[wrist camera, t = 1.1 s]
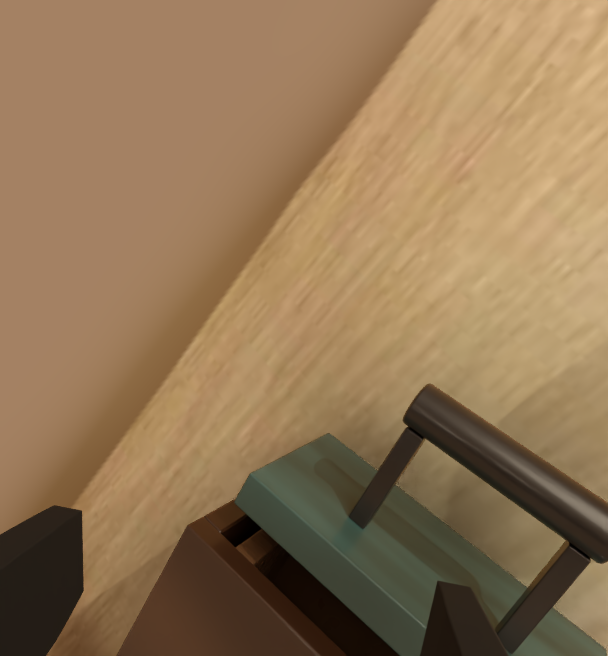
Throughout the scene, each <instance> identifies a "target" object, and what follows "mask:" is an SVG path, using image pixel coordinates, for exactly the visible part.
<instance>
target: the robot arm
mask: <svg viewBox="0 0 608 656" xmlns="http://www.w3.org/2000/svg"><path fill="white" fill-rule="evenodd" d="M83 591H84V588H83V540H82V511H81V510H76V509H71V508H65V507H60V506H52V507H50V508H48V509H46V510H44V511H42V512H40V513H38V514H37V515H35V516H33V517H31V518H29V519H27V520H26V521H24V522H22V523H20V524H18V525H17V526H15V527H13V528H11V529H9V530H8V531H6V532H4V533H3V534H1V535H0V656H46V655H47V653H48V652H49V650H50V649H51V647H52V646H53V644H54V643H55V642H56V640H57V638H58V636H59V635H60V633H61V631H62V629H63V628H64V626H65V624H66V622H67V621H68V619H69V617H70V615H71V613H72V611H73V610H74V608H75V606H76V604H77V602H78V600H79V598H80V597H81V595H82V593H83ZM420 656H509V655H508V653H507V651H506V650H505V648H504V646H503V644H502V642H501V641H500V639H499V637H498V635H497V634H496V632H495V630H494V628H493V626H492V625H491V623H490V621H489V619H488V617H487V615H486V613H485V612H484V610H483V608H482V606H481V604H480V602H479V600H478V598H477V597H476V595H475V593H474V592H473V590H472V589H471V587H468V586H463V585H458V584H453V583H448V582H443V581H438V580H437V585H436V589H435V593H434V598H433V602H432V606H431V611H430V615H429V619H428V623H427V628H426V632H425V636H424V641H423V645H422V649H421V654H420Z"/></svg>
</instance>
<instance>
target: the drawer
mask: <svg viewBox="0 0 608 656" xmlns="http://www.w3.org/2000/svg"><path fill="white" fill-rule="evenodd" d="M403 422H404V423H405V424H406V425H407V426H408V427H407V428H405V430H404V431H403V433H402V434H401V436H400V438H399V439H398V441H397V442H396V444H395V445H394V447H393V448H392V450H391V451H390V453H389V454H388V456H387V458H386V459H385V461H384V462H383V464H382V465H381V467H380V468H379V470H378V471H377V470H376V469H375V468H373V467H372V466H371V465H369V464H368V463H367V462H366V461H364V460H363V459H362V458H360V457H359V456H358V455H357V454H355V453H354V452H353V451H351V450H350V449H349V448H348V447H346V446H345V445H344V444H343V443H341V442H340V441H339V440H337V439H336V438H335V437H334V436H332V435H331V434H330V433H327V434H326V435H324V436H322V437H320V438H318V439H316V440H314V441H312V442H310V443H308V444H306V445H304V446H302V447H300V448H298V449H296V450H295V451H293V452H291V453H289V454H287V455H285V456H283V457H281V458H279V459H277V460H275V461H273V462H271V463H269V464H267V465H265V466H264V467H262V468H260V469H258V470H256V471H254V472H252V473H250V474H249V476H248V478H247V480H246V482H245V483H244V485H243V487H242V489H241V490H240V492H239V494H238V496H237V497H236V499H235V501H234V503H235V504H236V505H237V506H238V507H239V508H240V509H241V510H242V511H243V512H244V513H246V514H247V515H248V516H249V517H250V518H251V519H252V520H253V521H254V522H255V523H256V524H257V525H259V526H260V527H261V528H262V529H260V530H259V531H258V532H256V533H255V534H253V535H252V536H251V537H249V538H248V539H246V540H245V541H244V542H242V543H241V544H239V545H238V546H237V547H235V548H236V549H237V550H238V551H239V552H241V553H242V554H243V555H244V556H245V557H246V558H247V559H248V560H249V561H250V562H251V563H252V564H253V565H254V566H255V567H256V568H257V569H258V570H259V571H260V572H261V573H262V574H263V575H264V576H265V577H266V578H267V579H268V580H270V581H271V582H272V583H273V584H274V585H275V586H276V587H277V588H278V589H279V590H280V591H281V592H282V593H283V594H284V595H285V596H286V597H287V598H288V599H289V600H290V601H291V602H292V603H293V604H294V605H295V606H296V607H297V608H299V609H300V610H301V611H302V612H303V613H304V614H305V615H306V616H307V617H308V618H309V619H310V620H311V621H312V622H313V623H314V624H315V625H316V626H317V627H318V628H319V629H320V630H321V631H322V632H323V633H324V634H325V635H326V636H328V637H329V638H330V639H331V640H332V641H333V642H334V643H335V644H336V645H337V646H338V647H339V648H340V649H341V650H342V651H343V652H344V653H345V654H346V655H347V656H420V654H421V649H422V645H423V641H424V636H425V632H426V628H427V623H428V619H429V615H430V611H431V606H432V602H433V598H434V593H435V589H436V585H437V580H438V581H443V582H448V583H453V584H458V585H463V586H468V587H471V589H472V590H473V592H474V593H475V595H476V597H477V598H478V600H479V602H480V604H481V606H482V608H483V610H484V612H485V613H486V615H487V617H488V619H489V621H490V623H491V625H492V626H493V628H494V630H495V632H496V634H497V635H498V637H499V639H500V641H501V642H502V644H503V646H504V648H505V650H506V651H507V653H508V655H509V656H607V652H606V649H605V648H604V647H603V646H601V645H600V644H599V643H597V642H596V641H595V640H594V639H592V638H591V637H590V636H588V635H587V634H586V633H585V632H583V631H582V630H581V629H579V628H578V627H577V626H576V625H574V624H573V623H572V622H571V621H569V620H568V619H567V618H565V617H564V616H563V615H562V614H560V613H559V612H558V611H556V610H555V609H554V608H553V606H554V605H555V604H556V602H557V601H558V600H559V599H560V598H561V596H562V595H563V594H564V593H565V592H566V591H567V589H568V588H569V587H570V586H571V585H572V583H573V582H574V581H575V580H576V579H577V577H578V576H579V575H580V574H581V573H582V572H583V570H584V569H585V568H586V567H587V566H588V564H589V563H590V561H591V559H593V560H594V561H596V562H597V563H600V564H603V563H605V562H607V561H608V503H607V502H606V501H604V500H603V499H601V498H600V497H598V496H597V495H595V494H594V493H592V492H591V491H589V490H588V489H587V488H585V487H584V486H582V485H581V484H579V483H578V482H576V481H575V480H573V479H572V478H570V477H569V476H567V475H566V474H564V473H563V472H561V471H560V470H558V469H557V468H555V467H554V466H552V465H551V464H549V463H548V462H546V461H545V460H543V459H542V458H541V457H539V456H538V455H536V454H535V453H533V452H532V451H530V450H529V449H527V448H526V447H524V446H523V445H521V444H520V443H518V442H517V441H515V440H514V439H512V438H511V437H509V436H508V435H506V434H505V433H503V432H502V431H500V430H499V429H498V428H496V427H495V426H493V425H492V424H490V423H489V422H487V421H486V420H484V419H483V418H481V417H480V416H478V415H477V414H475V413H474V412H472V411H471V410H469V409H468V408H466V407H465V406H463V405H462V404H460V403H459V402H457V401H456V400H454V399H453V398H452V397H450V396H449V395H447V394H446V393H444V392H443V391H441V390H440V389H438V388H437V387H435V386H434V385H432V384H427V385H426V386H425V387H423V389H422V390H421V391H420V392H419V393H418V395H417V396H416V397H415V399H414V400H413V401H412V403H411V404H410V406H409V407H408V409H407V411H406V413H405V415H404V417H403ZM425 439H427V440H428V441H430V442H431V443H432V444H434V445H435V446H436V447H438V448H439V449H441V450H442V451H443V452H445V453H446V454H448V455H449V456H450V457H452V458H453V459H454V460H456V461H457V462H459V463H460V464H461V465H463V466H464V467H466V468H467V469H468V470H470V471H471V472H472V473H474V474H475V475H477V476H478V477H479V478H481V479H482V480H483V481H485V482H486V483H488V484H489V485H490V486H492V487H493V488H495V489H496V490H497V491H499V492H500V493H501V494H503V495H504V496H506V497H507V498H508V499H510V500H511V501H513V502H514V503H515V504H517V505H518V506H519V507H521V508H522V509H524V510H525V511H526V512H528V513H529V514H531V515H532V516H533V517H535V518H536V519H537V520H539V521H540V522H542V523H543V524H544V525H546V526H547V527H549V528H550V529H551V530H553V531H554V532H555V533H557V534H558V535H560V536H561V537H562V538H564V539H565V540H566V541H565V542H564V544H563V545H562V546H561V547H560V549H559V550H558V551H557V552H556V553H555V555H554V556H553V557H552V558H551V560H550V561H549V562H548V563H547V565H546V566H545V567H544V568H543V569H542V571H541V572H540V573H539V574H538V576H537V577H536V578H535V579H534V581H533V582H532V583H531V584H530V585H529V587H528V588H527V587H526V586H524V585H523V584H522V583H521V582H519V581H518V580H517V579H515V578H514V577H513V576H512V575H510V574H509V573H508V572H506V571H505V570H504V569H503V568H501V567H500V566H499V565H498V564H496V563H495V562H494V561H492V560H491V559H490V558H489V557H487V556H486V555H485V554H483V553H482V552H481V551H480V550H478V549H477V548H476V547H474V546H473V545H472V544H471V543H469V542H468V541H467V540H465V539H464V538H463V537H462V536H460V535H459V534H458V533H457V532H455V531H454V530H453V529H451V528H450V527H449V526H448V525H446V524H445V523H444V522H442V521H441V520H440V519H439V518H437V517H436V516H435V515H433V514H432V513H431V512H430V511H428V510H427V509H426V508H424V507H423V506H422V505H421V504H419V503H418V502H417V501H416V500H414V499H413V498H412V497H410V496H409V495H408V494H407V493H405V492H404V491H403V490H401V489H400V488H399V487H398V486H396V485H395V484H396V483H397V481H398V480H399V478H400V477H401V475H402V474H403V472H404V471H405V469H406V468H407V466H408V465H409V463H410V462H411V460H412V459H413V457H414V456H415V454H416V453H417V451H418V450H419V448H420V447H421V445H422V444H423V442H424V441H425ZM590 558H591V559H590Z"/></svg>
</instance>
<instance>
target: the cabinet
mask: <svg viewBox="0 0 608 656" xmlns="http://www.w3.org/2000/svg"><path fill="white" fill-rule="evenodd" d="M234 501H235V499H234V500H232V501H230V502H229V503H227V504H225V505H223V506H222V507H220V508H218V509H216V510H215V511H213V512H211V513H209V514H208V515H206V516H204V517H202V518H200V519H198V520H196V521H195V522H193V523H191V524H189V525H188V526H187V527H186V529H185V531H184V533H183V535H182V536H181V538H180V540H179V542H178V544H177V546H176V548H175V549H174V551H173V553H172V555H171V557H170V559H169V560H168V562H167V564H166V566H165V568H164V570H163V571H162V573H161V575H160V577H159V579H158V581H157V582H156V584H155V586H154V588H153V590H152V592H151V593H150V595H149V597H148V599H147V601H146V603H145V604H144V606H143V608H142V610H141V612H140V614H139V616H138V617H137V619H136V621H135V623H134V625H133V627H132V628H131V630H130V632H129V634H128V636H127V638H126V639H125V641H124V643H123V645H122V647H121V649H120V650H119V652H118V654H117V656H347V655H346V654H345V653H344V652H343V651H342V650H341V649H340V648H339V647H338V646H337V645H336V644H335V643H334V642H333V641H332V640H331V639H330V638H329V637H328V636H326V635H325V634H324V633H323V632H322V631H321V630H320V629H319V628H318V627H317V626H316V625H315V624H314V623H313V622H312V621H311V620H310V619H309V618H308V617H307V616H306V615H305V614H304V613H303V612H302V611H301V610H300V609H299V608H297V607H296V606H295V605H294V604H293V603H292V602H291V601H290V600H289V599H288V598H287V597H286V596H285V595H284V594H283V593H282V592H281V591H280V590H279V589H278V588H277V587H276V586H275V585H274V584H273V583H272V582H271V581H270V580H268V579H267V578H266V577H265V576H264V575H263V574H262V573H261V572H260V571H259V570H258V569H257V568H256V567H255V566H254V565H253V564H252V563H251V562H250V561H249V560H248V559H247V558H246V557H245V556H244V555H243V554H242V553H241V552H239V551H238V550H237V549H236V548H235V547H237V546H238V545H239V544H241V543H242V542H244V541H245V540H246V539H248V538H249V537H251V536H252V535H253V534H255V533H256V532H258V531H259V530H260V529H262V528H261V527H260V526H259V525H257V524H256V523H255V522H254V521H253V520H252V519H251V518H250V517H249V516H248V515H247V514H246V513H244V512H243V511H242V510H241V509H240V508H239V507H238V506H237V505H236V504H235V503H234Z"/></svg>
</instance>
